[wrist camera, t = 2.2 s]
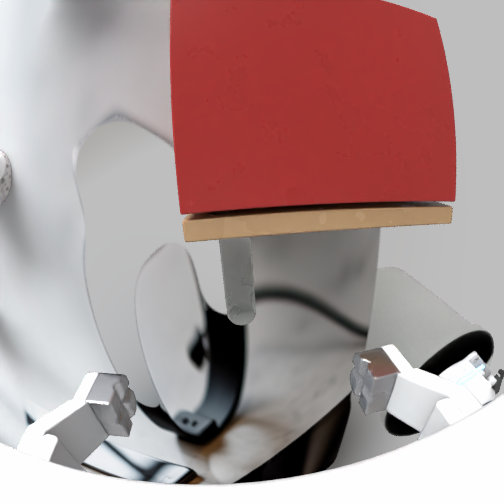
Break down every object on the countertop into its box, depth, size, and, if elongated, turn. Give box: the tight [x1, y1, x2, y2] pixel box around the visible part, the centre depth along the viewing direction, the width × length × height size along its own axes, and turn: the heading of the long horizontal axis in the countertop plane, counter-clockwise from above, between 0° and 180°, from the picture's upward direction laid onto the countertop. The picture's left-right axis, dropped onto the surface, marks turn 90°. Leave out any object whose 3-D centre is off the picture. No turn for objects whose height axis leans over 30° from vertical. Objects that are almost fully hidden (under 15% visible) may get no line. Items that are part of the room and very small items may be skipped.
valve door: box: [183, 201, 453, 325], centre depth 18 cm, size 6×12×15 cm, turn 94°
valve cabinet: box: [170, 0, 456, 214], centre depth 16 cm, size 9×12×16 cm
